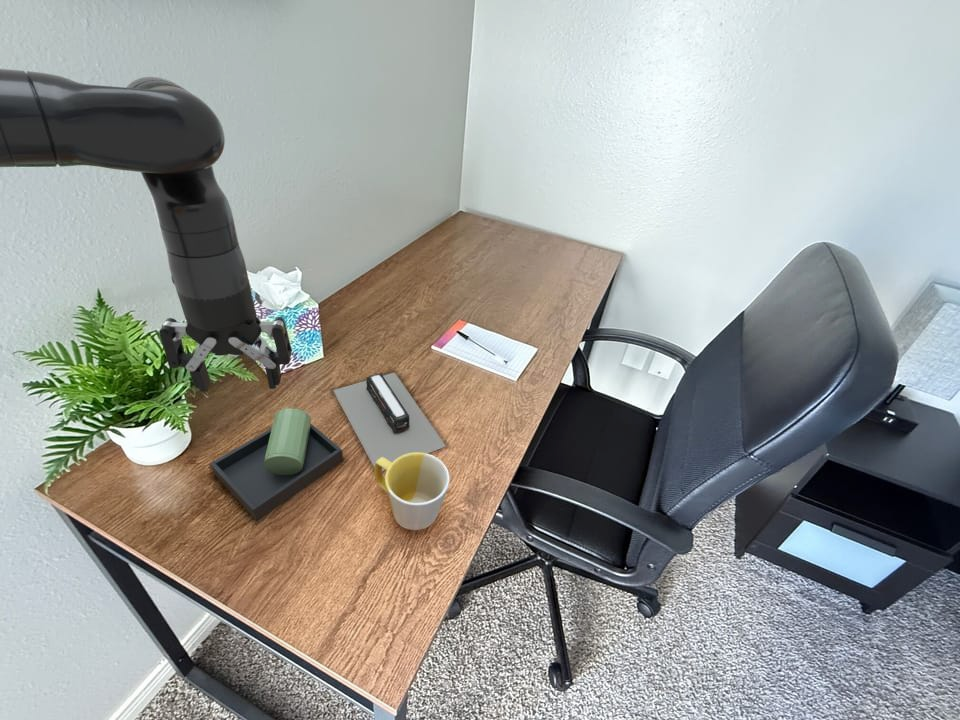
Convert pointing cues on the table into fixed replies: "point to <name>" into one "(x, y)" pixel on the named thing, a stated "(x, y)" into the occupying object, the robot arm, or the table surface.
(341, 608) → the table surface
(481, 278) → the table surface
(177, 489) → the table surface
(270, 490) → the tray
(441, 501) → the mug
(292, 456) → the tumbler
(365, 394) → the grey flat rectangular panel
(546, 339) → the table surface
